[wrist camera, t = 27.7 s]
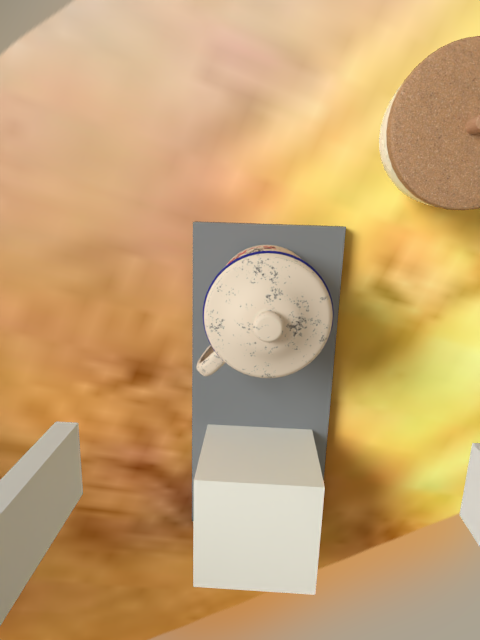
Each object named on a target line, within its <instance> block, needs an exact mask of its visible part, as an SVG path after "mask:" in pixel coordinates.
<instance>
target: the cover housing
mask: <svg viewBox="0 0 480 640" xmlns="http://www.w3.org/2000/svg"><path fill="white" fill-rule="evenodd" d="M324 492H325V486H324V481H323V477H322V472H321V468H320V463H319V459H318V454H317V450H316V445H315V441H314V436H313V432H312V430H310V429H290V428H270V427H251V426H231V425H211V424H208V425H207V429H206V433H205V437H204V441H203V445H202V449H201V453H200V457H199V461H198V465H197V469H196V473H195V477H194V537H193V587H206V588H221V589H236V590H251V591H267V592H282V593H297V594H312V595H315V592H316V581H317V570H318V559H319V548H320V537H321V525H322V514H323V503H324Z"/></svg>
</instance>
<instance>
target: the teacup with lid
mask: <svg viewBox="0 0 480 640" xmlns="http://www.w3.org/2000/svg"><path fill="white" fill-rule="evenodd" d="M333 318H334V310H333V302H332V298H331V295H330V292H329V289H328V287H327V285H326V283H325V282H324V280H323V279H322V277H321V276H320V275H319V273H318V272H317V271H316V270H315V269H314V268H313V267H312V266H310V265H309V264H308V263H306V262H305V261H303V260H302V259H301V258H300V257H299V256H297V255H296V254H295V253H293V252H292V251H290V250H288V249H286V248H283V247H279V246H275V245H258V246H253V247H250V248H247V249H245V250H243V251H241V252H240V253H238V254H237V255H235V256H234V257H233V258H232V259H231V260H230V261H229V262H228V263H227V264H226V266H225V267H224V268H223V269H222V270H221V271H220V272H219V273H218V274H217V276H216V277H215V278H214V280H213V281H212V283H211V285H210V286H209V289H208V291H207V293H206V296H205V300H204V305H203V324H204V329H205V333H206V336H207V338H208V341H209V343H210V346H209V347H208V348H207V349H206V350H205V352H204V353H203V354H202V356H201V357H200V359H199V361H198V363H197V366H196V368H197V370H198V372H199V373H200V374H202V375H203V376H209V375H211V374H213V373H214V372H216V371H217V370H218V369H219V368H221V367H222V366H223V365H224V364H225V363H226V364H228V365H229V366H230V367H232V368H234V369H235V370H237V371H239V372H241V373H243V374H246V375H249V376H253V377H259V378H277V377H283V376H287V375H290V374H292V373H295V372H297V371H299V370H301V369H302V368H304V367H305V366H307V365H308V364H309V363H311V362H312V361H313V360H314V359H315V358H316V357H317V356H318V355H319V353H320V352H321V351H322V349H323V348H324V347H325V345H326V343H327V341H328V339H329V336H330V333H331V330H332V326H333Z"/></svg>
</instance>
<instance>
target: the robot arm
mask: <svg viewBox="0 0 480 640" xmlns="http://www.w3.org/2000/svg"><path fill="white" fill-rule="evenodd" d="M82 494H83V487H82V472H81V457H80V442H79V427H78V423H72V422H55V423H54V424H53V425H52V426H51V427H50V428H49V430H48V431H47V432H46V433H45V434H44V435H43V436H42V437H41V438H40V439H39V440H38V441H37V442H36V443H35V444H34V445H33V446H32V447H31V448H30V449H29V450H28V451H27V453H26V454H25V455H24V456H23V457H22V458H21V459H20V460H19V461H18V462H17V463H16V464H15V465H14V466H13V467H12V468H11V469H10V470H9V471H8V472H7V473H6V474H5V475H4V477H3V478H2V479H1V480H0V625H1V624H2V622H3V621H4V619H5V617H6V616H7V614H8V613H9V611H10V609H11V608H12V606H13V605H14V603H15V601H16V600H17V598H18V597H19V595H20V593H21V592H22V590H23V589H24V587H25V585H26V584H27V582H28V581H29V579H30V577H31V576H32V574H33V573H34V571H35V569H36V568H37V566H38V565H39V563H40V561H41V560H42V558H43V557H44V555H45V553H46V552H47V550H48V549H49V547H50V545H51V544H52V542H53V541H54V539H55V537H56V536H57V534H58V533H59V531H60V529H61V528H62V526H63V525H64V523H65V521H66V520H67V518H68V517H69V515H70V513H71V512H72V510H73V509H74V507H75V505H76V504H77V502H78V501H79V499H80V497H81V496H82ZM460 516H461V518H462V520H463V521H464V523H465V525H466V526H467V528H468V529H469V531H470V532H471V534H472V535H473V537H474V539H475V540H476V542H477V543H478V545H479V546H480V443H472V448H471V454H470V460H469V465H468V471H467V476H466V482H465V487H464V493H463V499H462V504H461V510H460Z"/></svg>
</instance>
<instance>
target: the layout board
mask: <svg viewBox="0 0 480 640" xmlns="http://www.w3.org/2000/svg"><path fill="white" fill-rule="evenodd" d="M345 230H346V227H343V226H314V225H283V224H252V223H222V222H193V378H192V521H194V477H195V473H196V469H197V465H198V461H199V457H200V453H201V449H202V445H203V441H204V437H205V433H206V429H207V425H208V424H211V425H231V426H251V427H270V428H290V429H310V430H312V432H313V436H314V441H315V445H316V450H317V454H318V459H319V463H320V468H321V472H322V477H323V481H324V469H325V458H326V447H327V435H328V424H329V412H330V401H331V390H332V378H333V367H334V355H335V344H336V333H337V321H338V310H339V298H340V287H341V276H342V264H343V253H344V241H345ZM258 245H275V246H279V247H283V248H286V249H288V250H290V251H292V252H293V253H295V254H296V255H297V256H299V257H300V258H301V259H302V260H303V261H305V262H306V263H308V264H309V265H310V266H312V267H313V268H314V269H315V270H316V271H317V272H318V273H319V275H320V276H321V277H322V279H323V280H324V282H325V283H326V285H327V287H328V289H329V292H330V295H331V298H332V302H333V310H334V318H333V326H332V330H331V333H330V336H329V339H328V341H327V343H326V345H325V347H324V348H323V349H322V351H321V352H320V353H319V355H318V356H317V357H316V358H315V359H314V360H313V361H312V362H311V363H309V364H308V365H307V366H305V367H304V368H302V369H301V370H299V371H297V372H295V373H292V374H290V375H287V376H283V377H277V378H259V377H253V376H249V375H246V374H243V373H241V372H239V371H237V370H235V369H234V368H232V367H230V366H229V365H228V364H226V363H225V364H224V365H223V366H222V367H221V368H219V369H218V370H217V371H216V372H214V373H213V374H211V375H209V376H203V375H202V374H200V373H199V372H198V370H197V368H196V366H197V363H198V361H199V359H200V357H201V356H202V354H203V353H204V352H205V350H206V349H207V348H208V347H209V346H210V343H209V341H208V338H207V336H206V333H205V329H204V324H203V305H204V300H205V296H206V293H207V291H208V289H209V286H210V285H211V283H212V281H213V280H214V278H215V277H216V276H217V274H218V273H219V272H220V271H221V270H222V269H223V268H224V267H225V266H226V264H227V263H228V262H229V261H230V260H231V259H232V258H233V257H234V256H235V255H237V254H238V253H240V252H241V251H243V250H245V249H247V248H250V247H253V246H258Z"/></svg>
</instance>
